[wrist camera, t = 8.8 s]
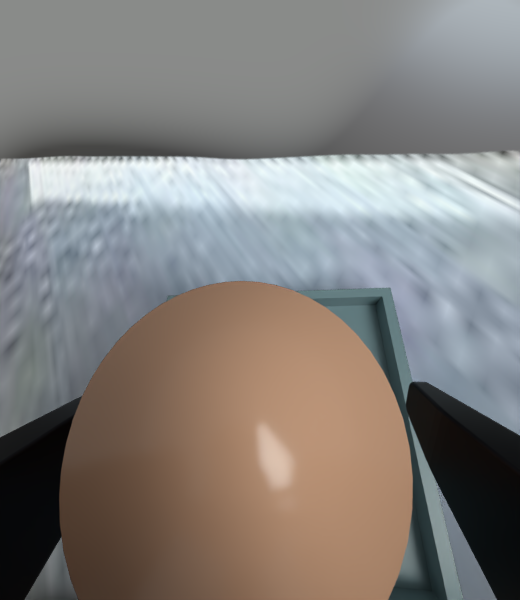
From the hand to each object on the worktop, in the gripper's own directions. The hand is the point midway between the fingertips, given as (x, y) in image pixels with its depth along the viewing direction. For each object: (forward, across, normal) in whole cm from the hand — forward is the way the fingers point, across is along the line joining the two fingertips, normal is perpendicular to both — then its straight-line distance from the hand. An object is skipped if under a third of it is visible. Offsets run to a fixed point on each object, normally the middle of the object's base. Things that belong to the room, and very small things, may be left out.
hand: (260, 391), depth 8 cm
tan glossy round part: (+5, 0, +6) cm, 8 cm away
